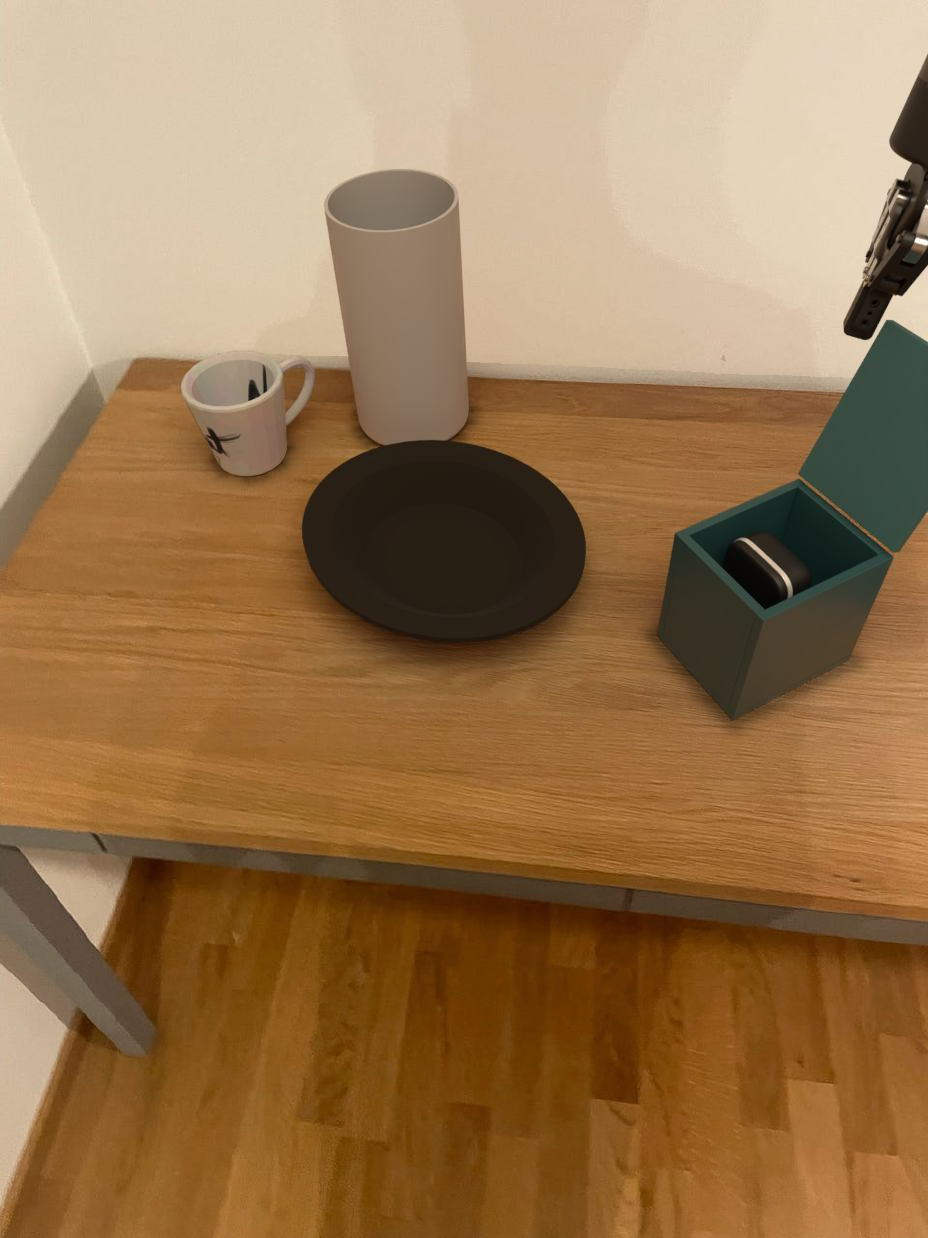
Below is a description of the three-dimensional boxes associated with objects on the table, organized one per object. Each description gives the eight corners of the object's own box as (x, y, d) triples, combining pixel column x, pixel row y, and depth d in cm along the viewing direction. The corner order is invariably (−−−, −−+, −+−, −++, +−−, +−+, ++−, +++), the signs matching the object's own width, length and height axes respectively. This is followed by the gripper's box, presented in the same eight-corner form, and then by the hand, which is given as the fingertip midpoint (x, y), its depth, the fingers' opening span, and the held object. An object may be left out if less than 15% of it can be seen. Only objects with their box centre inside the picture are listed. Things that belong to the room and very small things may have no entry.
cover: (1004, 393, 61) (1010, 393, 62) (886, 319, 68) (892, 319, 68) (893, 553, 70) (899, 552, 70) (797, 473, 76) (803, 473, 76)
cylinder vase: (358, 390, 109) (324, 174, 90) (463, 380, 109) (452, 163, 90) (360, 458, 101) (323, 237, 82) (474, 447, 101) (464, 225, 82)
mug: (187, 455, 102) (160, 378, 95) (296, 396, 108) (280, 320, 101) (238, 500, 97) (215, 423, 89) (351, 436, 103) (337, 359, 96)
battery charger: (792, 662, 79) (825, 570, 70) (757, 680, 78) (786, 589, 69) (739, 609, 83) (765, 516, 75) (705, 625, 82) (727, 533, 73)
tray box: (732, 720, 77) (763, 620, 67) (656, 635, 83) (674, 532, 73) (848, 660, 80) (894, 556, 70) (767, 582, 86) (799, 477, 77)
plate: (258, 566, 91) (245, 525, 86) (433, 449, 101) (429, 407, 97) (460, 730, 77) (456, 690, 73) (638, 575, 88) (644, 533, 83)
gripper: (1056, 124, 54) (909, 385, 66) (1019, 80, 64) (897, 314, 76) (930, 91, 55) (806, 355, 67) (912, 52, 65) (807, 289, 77)
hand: (855, 333), depth 71 cm, fingers closed
